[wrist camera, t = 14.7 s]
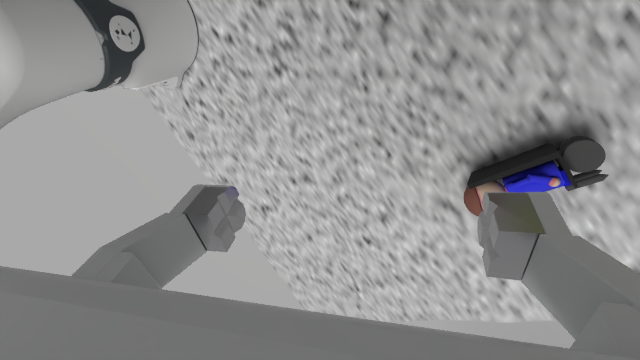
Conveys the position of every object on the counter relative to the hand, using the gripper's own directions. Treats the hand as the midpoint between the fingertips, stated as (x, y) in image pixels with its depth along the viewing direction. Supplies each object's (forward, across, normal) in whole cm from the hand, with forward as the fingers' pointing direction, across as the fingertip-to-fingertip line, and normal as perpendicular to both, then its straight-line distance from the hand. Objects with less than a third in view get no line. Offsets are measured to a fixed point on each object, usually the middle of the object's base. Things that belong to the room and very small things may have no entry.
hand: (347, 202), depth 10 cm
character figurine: (+30, -16, +19) cm, 39 cm away
